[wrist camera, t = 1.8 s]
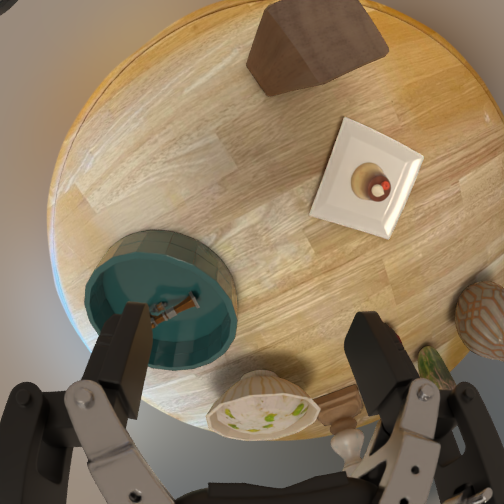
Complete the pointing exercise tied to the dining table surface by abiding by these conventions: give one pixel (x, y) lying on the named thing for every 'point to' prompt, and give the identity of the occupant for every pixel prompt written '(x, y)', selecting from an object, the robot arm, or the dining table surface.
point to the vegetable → (434, 369)
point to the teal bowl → (168, 295)
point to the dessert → (366, 180)
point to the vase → (482, 319)
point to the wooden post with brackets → (171, 310)
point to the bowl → (262, 408)
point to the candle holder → (343, 424)
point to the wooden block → (312, 43)
